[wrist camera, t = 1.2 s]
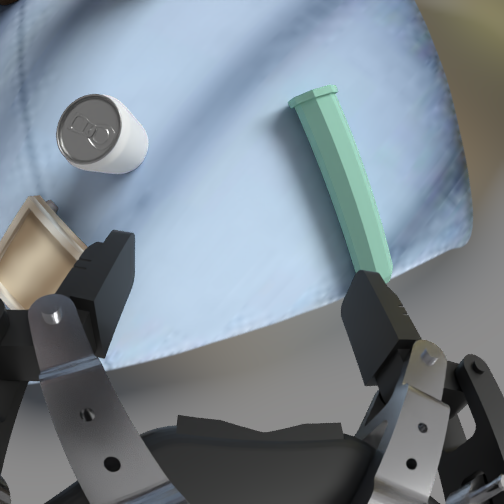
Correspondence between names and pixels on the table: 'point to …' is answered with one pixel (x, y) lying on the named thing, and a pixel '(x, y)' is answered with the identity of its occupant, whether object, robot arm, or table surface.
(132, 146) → the can
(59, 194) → the table surface
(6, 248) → the shallow wooden tray
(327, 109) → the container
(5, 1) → the olive oil
